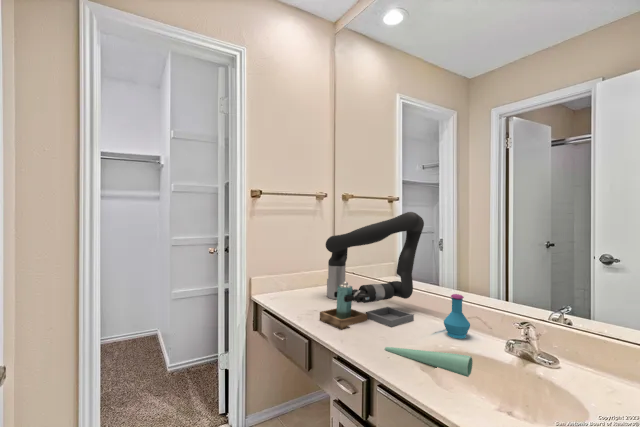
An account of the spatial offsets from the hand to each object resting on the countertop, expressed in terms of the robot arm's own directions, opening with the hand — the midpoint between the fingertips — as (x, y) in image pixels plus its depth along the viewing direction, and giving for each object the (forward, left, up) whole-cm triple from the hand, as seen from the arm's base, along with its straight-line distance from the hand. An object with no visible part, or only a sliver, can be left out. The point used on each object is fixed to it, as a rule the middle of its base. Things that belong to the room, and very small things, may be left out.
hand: (339, 296), depth 138 cm
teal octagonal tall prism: (0, +2, -9) cm, 10 cm away
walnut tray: (0, +2, -10) cm, 11 cm away
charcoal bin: (+11, +18, -10) cm, 24 cm away
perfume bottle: (+36, +27, -11) cm, 47 cm away
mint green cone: (+43, -2, -11) cm, 44 cm away
